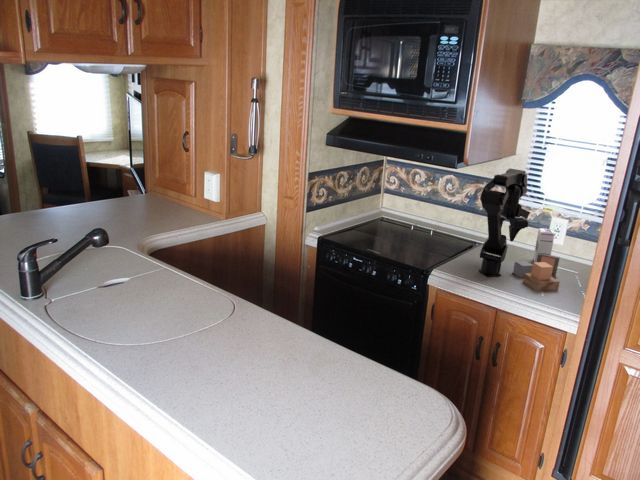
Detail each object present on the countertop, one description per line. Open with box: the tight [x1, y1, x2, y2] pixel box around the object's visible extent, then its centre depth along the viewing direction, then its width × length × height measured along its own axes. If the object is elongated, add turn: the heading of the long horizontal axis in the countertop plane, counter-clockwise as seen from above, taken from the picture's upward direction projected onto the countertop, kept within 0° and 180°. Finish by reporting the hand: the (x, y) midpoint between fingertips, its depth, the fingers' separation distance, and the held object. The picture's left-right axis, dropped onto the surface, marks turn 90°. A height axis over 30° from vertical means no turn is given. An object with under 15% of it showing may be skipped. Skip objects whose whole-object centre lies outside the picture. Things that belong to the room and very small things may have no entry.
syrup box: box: [532, 227, 556, 263], centre depth 232 cm, size 6×6×14 cm
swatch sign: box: [537, 253, 560, 279], centre depth 221 cm, size 8×5×8 cm, turn 66°
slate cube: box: [512, 260, 533, 278], centre depth 219 cm, size 5×5×5 cm
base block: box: [522, 273, 561, 293], centre depth 209 cm, size 9×9×4 cm
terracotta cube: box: [531, 261, 553, 280], centre depth 208 cm, size 5×5×5 cm
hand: (504, 237), depth 225 cm, fingers open, 9 cm apart
